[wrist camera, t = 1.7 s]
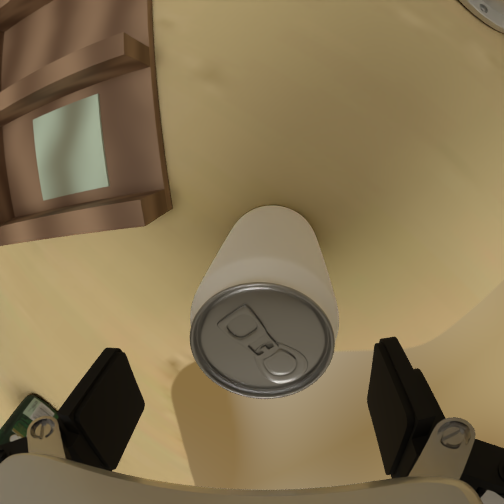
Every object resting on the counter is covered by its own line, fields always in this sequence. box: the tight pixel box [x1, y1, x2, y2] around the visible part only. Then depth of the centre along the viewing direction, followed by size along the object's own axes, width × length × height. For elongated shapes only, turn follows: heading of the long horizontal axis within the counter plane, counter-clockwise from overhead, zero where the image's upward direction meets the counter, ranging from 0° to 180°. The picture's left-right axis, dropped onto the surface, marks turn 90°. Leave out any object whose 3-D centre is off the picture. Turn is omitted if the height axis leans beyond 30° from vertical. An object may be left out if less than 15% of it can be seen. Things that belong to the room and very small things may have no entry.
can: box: [190, 205, 339, 399], centre depth 17 cm, size 6×6×12 cm
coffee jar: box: [0, 395, 59, 445], centre depth 26 cm, size 10×8×19 cm
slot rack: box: [0, 0, 172, 246], centre depth 18 cm, size 18×23×5 cm
